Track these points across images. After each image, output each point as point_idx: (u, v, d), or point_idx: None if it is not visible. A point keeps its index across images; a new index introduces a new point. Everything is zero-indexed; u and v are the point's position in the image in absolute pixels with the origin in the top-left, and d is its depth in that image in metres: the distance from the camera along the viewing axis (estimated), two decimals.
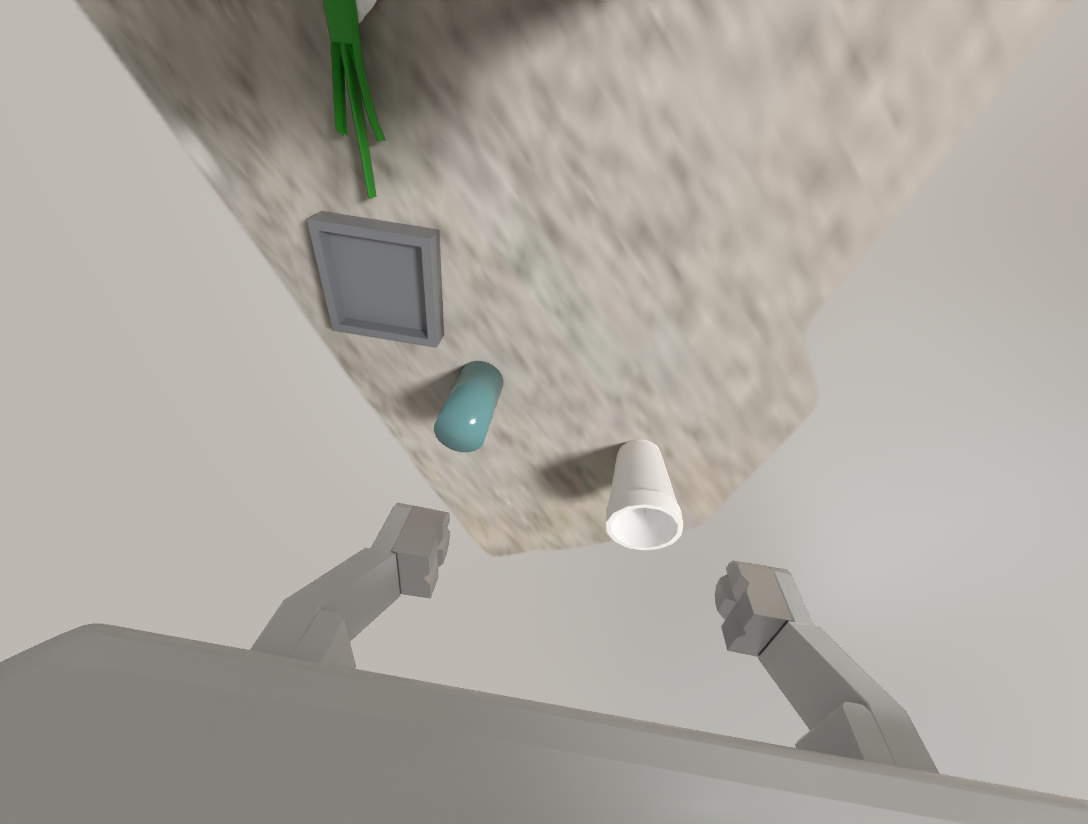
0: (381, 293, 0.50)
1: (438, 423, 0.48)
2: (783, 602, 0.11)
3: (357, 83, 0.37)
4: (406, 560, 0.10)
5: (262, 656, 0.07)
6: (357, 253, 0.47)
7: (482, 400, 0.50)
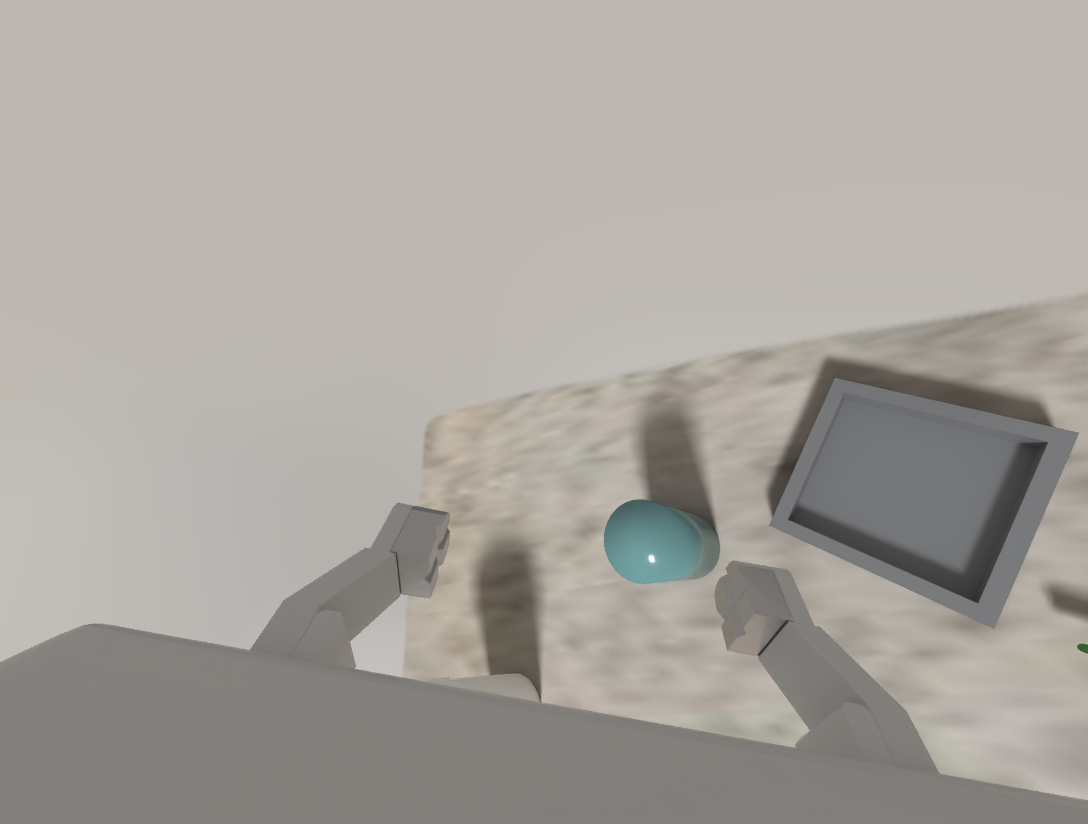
0: (879, 475, 0.32)
1: (666, 517, 0.31)
2: (783, 602, 0.11)
3: None
4: (406, 560, 0.10)
5: (262, 656, 0.07)
6: (968, 472, 0.29)
7: (676, 579, 0.33)
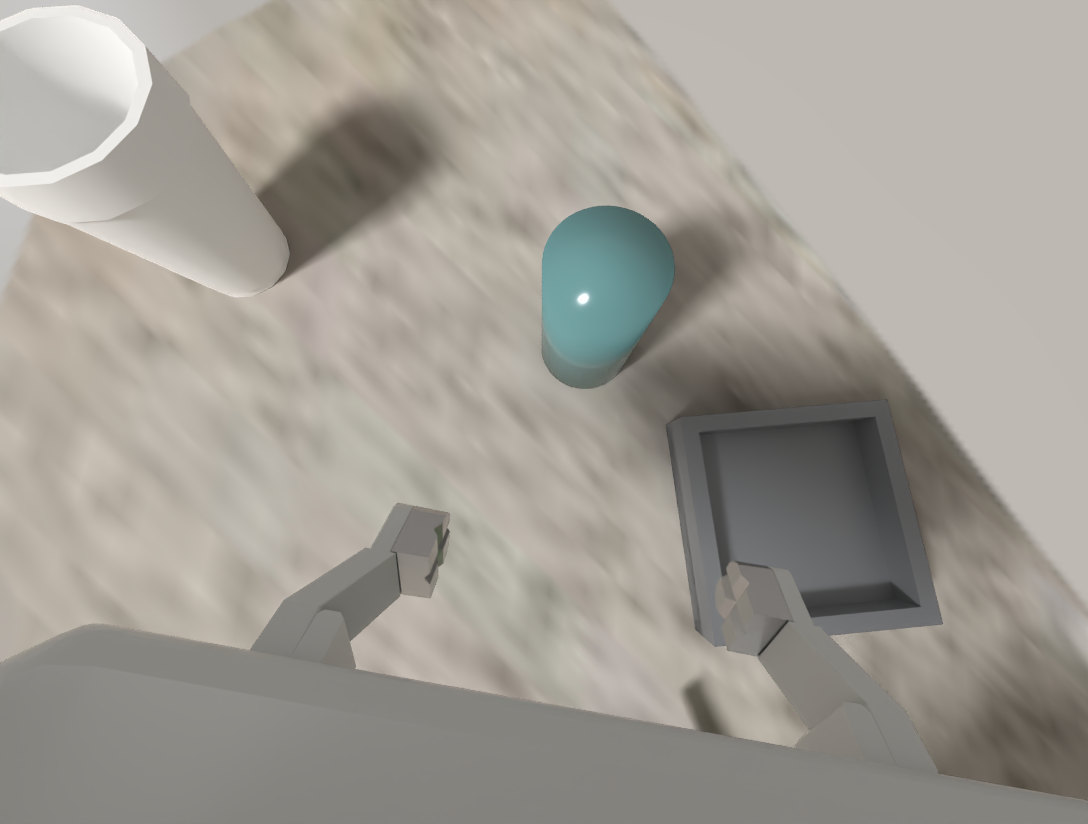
0: (790, 491, 0.27)
1: (664, 282, 0.19)
2: (783, 602, 0.11)
3: None
4: (406, 560, 0.10)
5: (262, 656, 0.07)
6: (838, 559, 0.26)
7: (568, 346, 0.22)
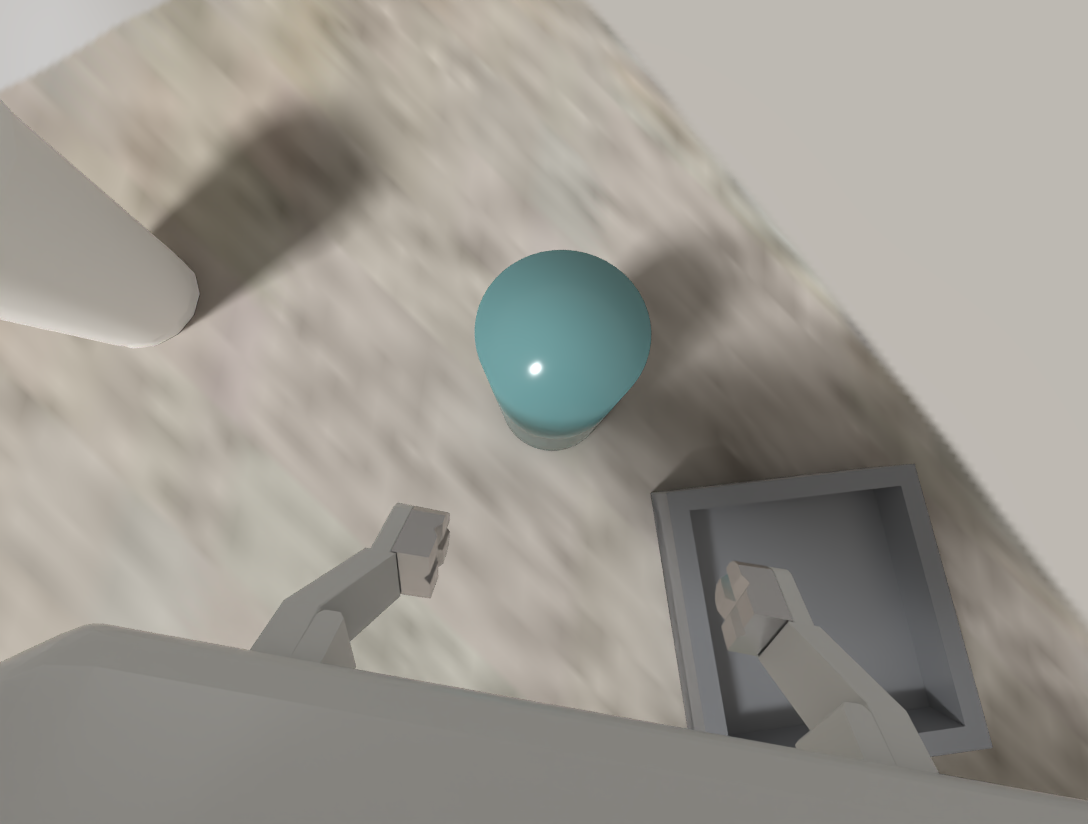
0: (800, 574, 0.22)
1: (638, 352, 0.14)
2: (782, 602, 0.11)
3: None
4: (406, 560, 0.10)
5: (262, 656, 0.07)
6: (860, 659, 0.22)
7: (521, 423, 0.17)
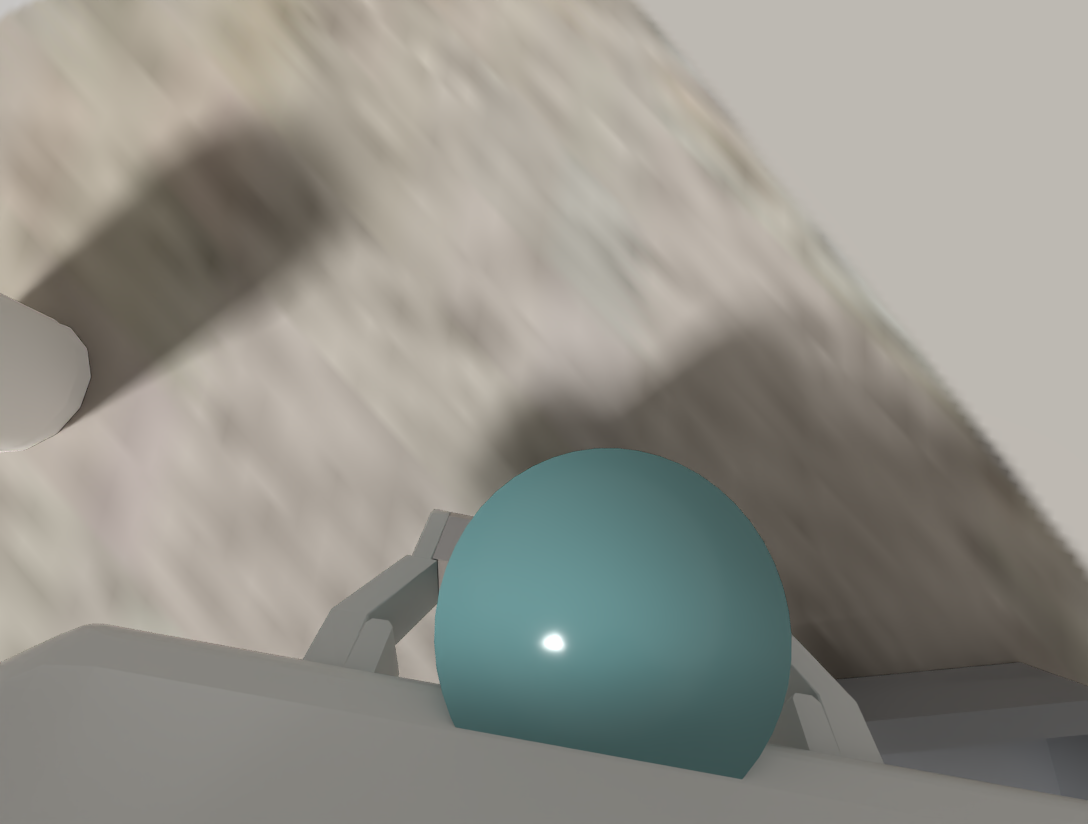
0: None
1: (766, 682, 0.07)
2: None
3: None
4: None
5: (262, 656, 0.07)
6: None
7: None
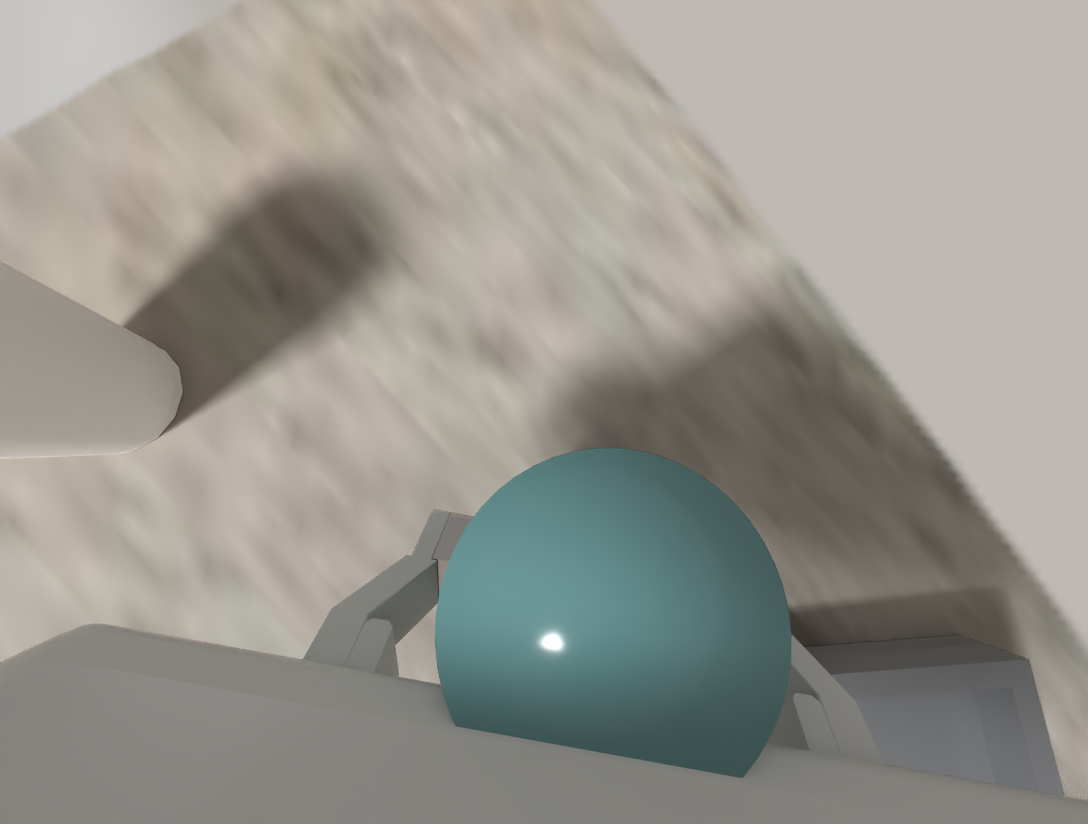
0: None
1: (766, 681, 0.07)
2: None
3: None
4: None
5: (262, 656, 0.07)
6: None
7: None
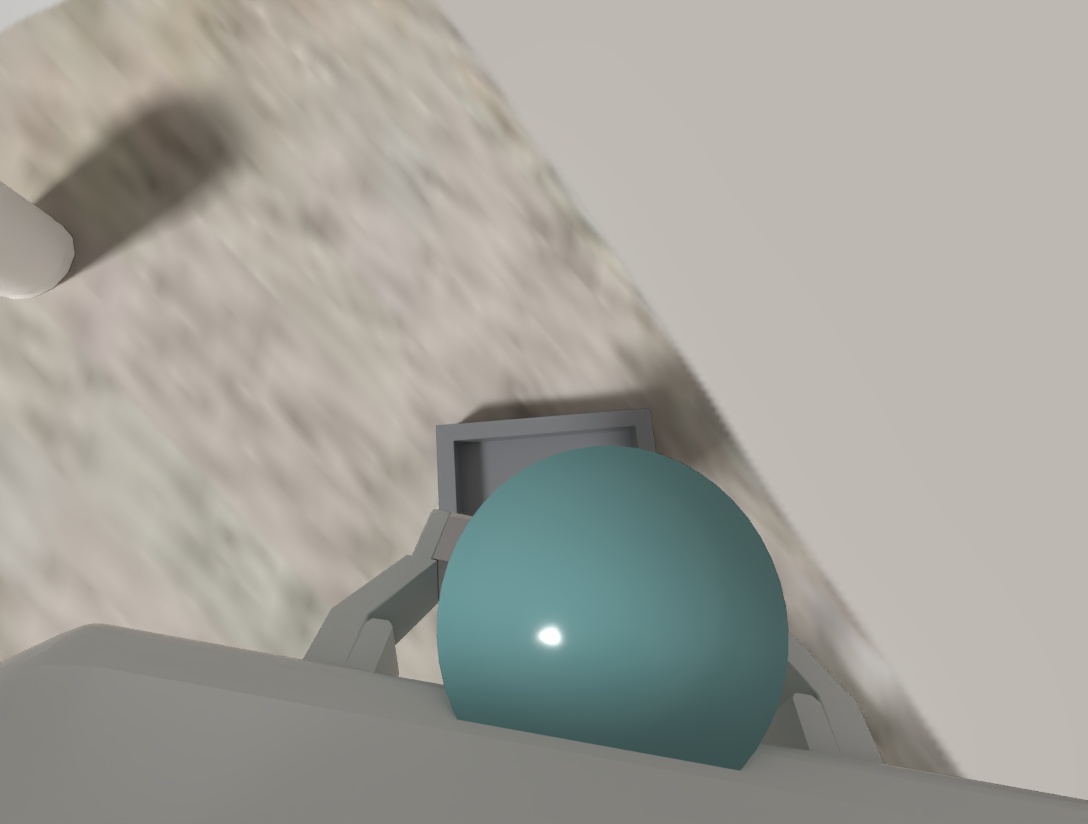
0: None
1: (763, 676, 0.07)
2: None
3: None
4: None
5: (262, 656, 0.07)
6: None
7: None
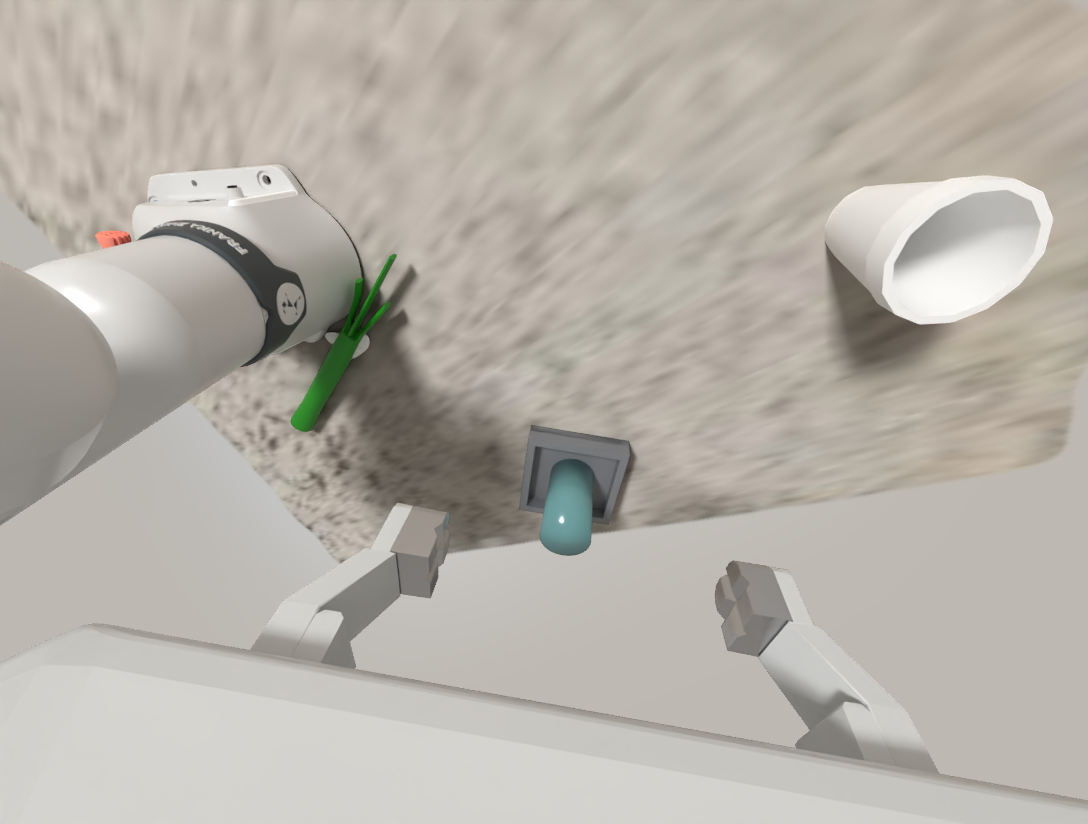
0: None
1: (552, 549, 0.51)
2: (782, 602, 0.11)
3: None
4: (406, 560, 0.10)
5: (262, 656, 0.07)
6: None
7: (551, 500, 0.51)
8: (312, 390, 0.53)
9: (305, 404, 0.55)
